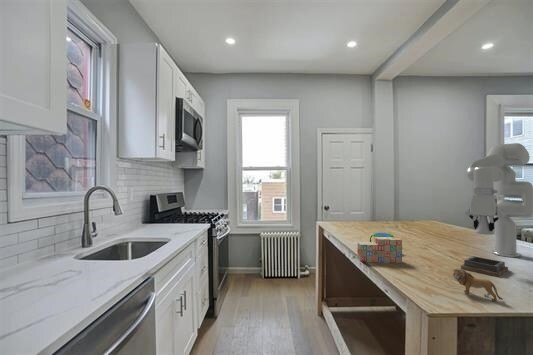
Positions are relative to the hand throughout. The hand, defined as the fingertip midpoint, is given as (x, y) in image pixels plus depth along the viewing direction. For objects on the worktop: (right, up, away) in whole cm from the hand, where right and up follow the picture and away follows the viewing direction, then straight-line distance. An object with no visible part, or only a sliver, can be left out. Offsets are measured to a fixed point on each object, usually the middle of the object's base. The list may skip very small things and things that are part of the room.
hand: (483, 229), depth 132 cm
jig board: (0, -19, 0) cm, 19 cm away
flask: (0, -2, 0) cm, 2 cm away
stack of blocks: (-45, -20, +14) cm, 51 cm away
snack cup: (-34, -20, +34) cm, 52 cm away
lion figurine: (-27, -19, -30) cm, 45 cm away
